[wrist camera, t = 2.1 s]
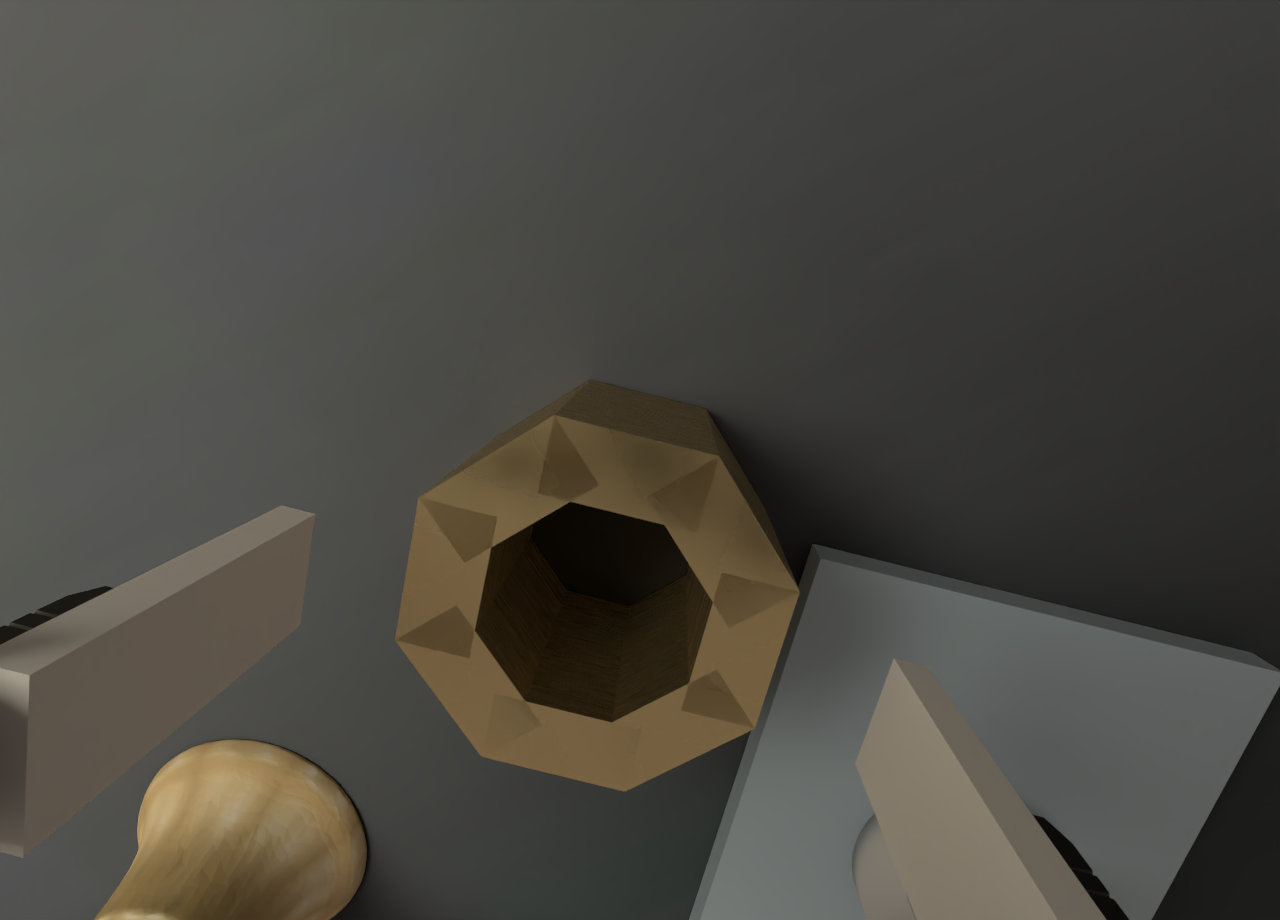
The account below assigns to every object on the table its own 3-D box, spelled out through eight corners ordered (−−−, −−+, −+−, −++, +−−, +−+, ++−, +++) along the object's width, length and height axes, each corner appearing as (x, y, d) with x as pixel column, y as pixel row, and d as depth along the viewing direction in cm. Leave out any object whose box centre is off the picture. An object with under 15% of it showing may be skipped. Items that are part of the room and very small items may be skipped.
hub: (508, 359, 20) (437, 385, 14) (788, 429, 20) (834, 485, 14) (459, 614, 22) (379, 731, 16) (712, 677, 22) (725, 816, 16)
